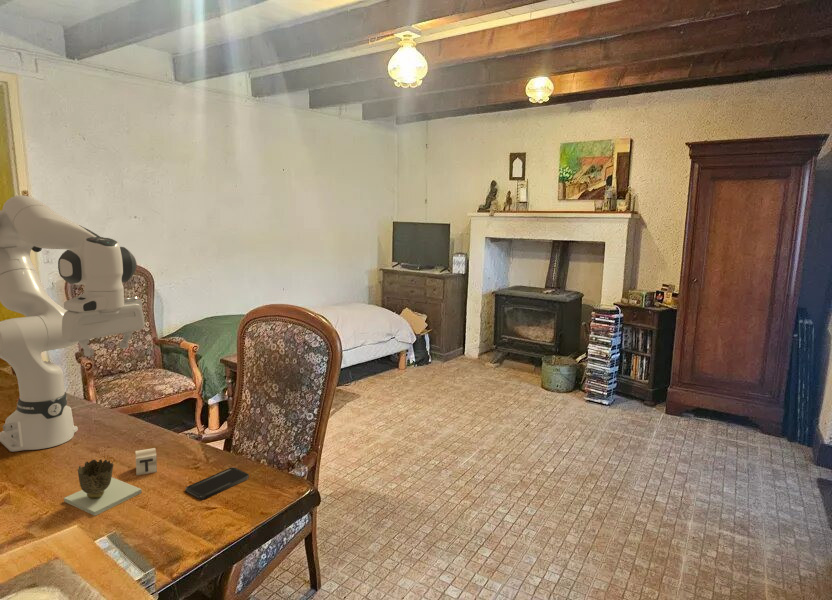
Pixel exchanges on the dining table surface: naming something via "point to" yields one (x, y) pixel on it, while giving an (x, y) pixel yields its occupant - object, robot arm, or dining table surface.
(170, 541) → the dining table surface
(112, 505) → the sage board
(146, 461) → the letter cube
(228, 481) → the phone
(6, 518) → the dining table surface
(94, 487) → the cup
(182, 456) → the dining table surface
